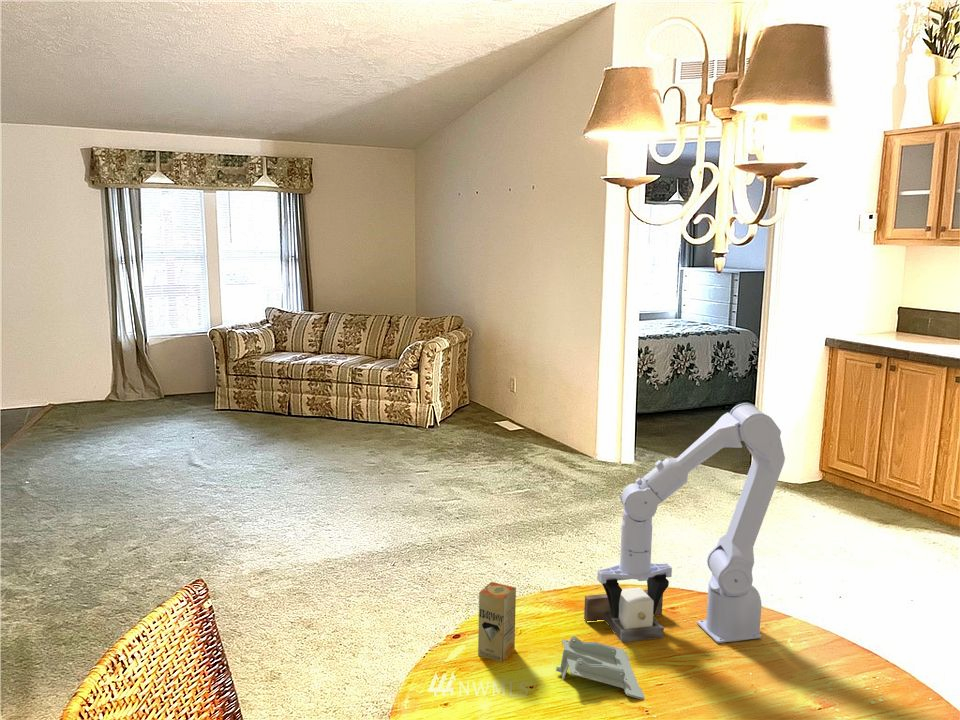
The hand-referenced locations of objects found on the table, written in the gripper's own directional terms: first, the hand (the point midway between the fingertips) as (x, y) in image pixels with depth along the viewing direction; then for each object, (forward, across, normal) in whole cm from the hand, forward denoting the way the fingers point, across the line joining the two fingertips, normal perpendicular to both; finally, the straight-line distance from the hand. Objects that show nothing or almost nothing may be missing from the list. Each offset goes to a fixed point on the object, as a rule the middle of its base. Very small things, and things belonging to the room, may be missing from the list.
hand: (632, 613), depth 149 cm
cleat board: (+3, 0, 0) cm, 3 cm away
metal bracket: (+4, -13, -14) cm, 19 cm away
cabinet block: (+3, 0, 0) cm, 3 cm away
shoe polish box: (+3, -28, -3) cm, 28 cm away
